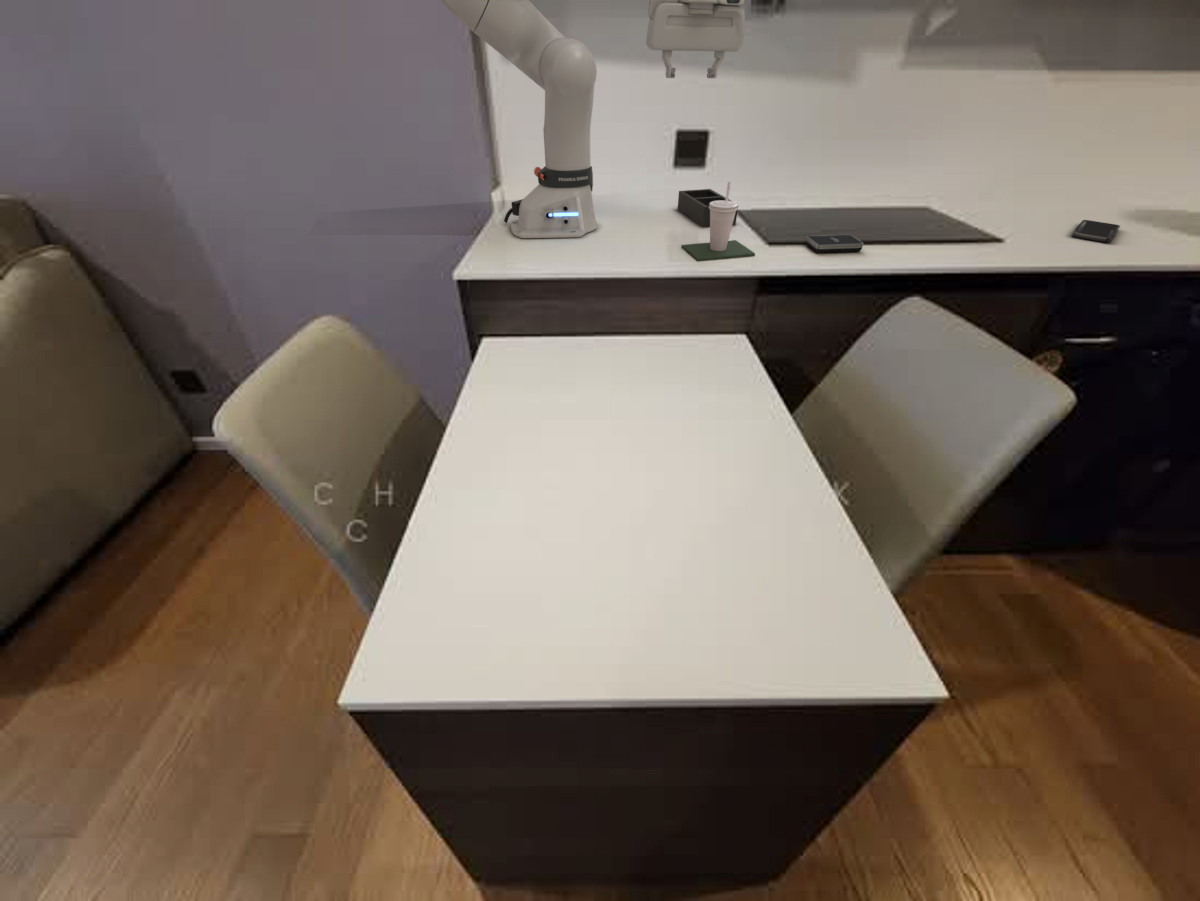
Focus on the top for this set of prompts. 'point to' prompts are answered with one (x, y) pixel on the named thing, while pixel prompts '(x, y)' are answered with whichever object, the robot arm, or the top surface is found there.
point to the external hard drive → (834, 243)
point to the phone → (1096, 231)
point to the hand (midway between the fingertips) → (690, 78)
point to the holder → (699, 205)
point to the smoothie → (721, 221)
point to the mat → (705, 253)
